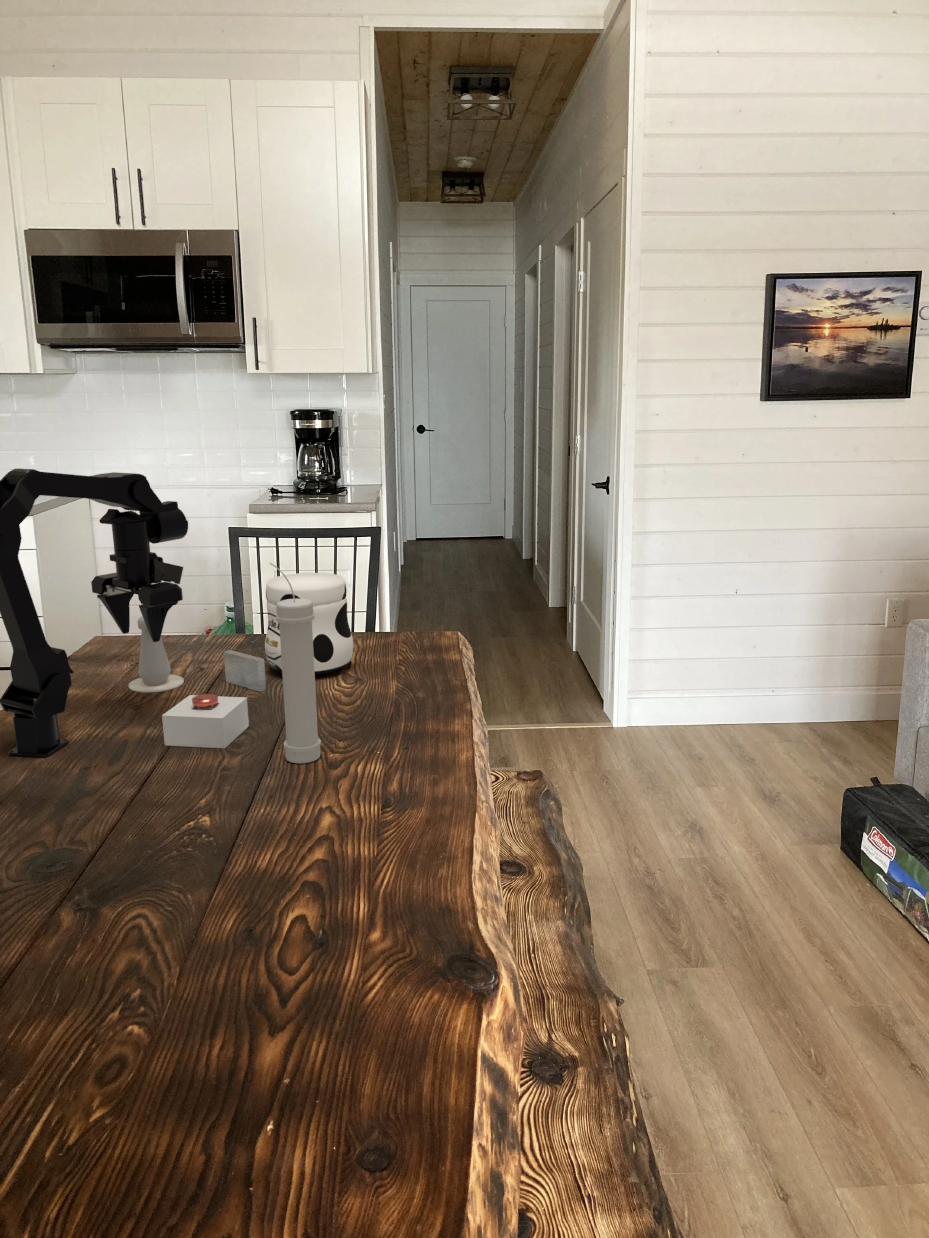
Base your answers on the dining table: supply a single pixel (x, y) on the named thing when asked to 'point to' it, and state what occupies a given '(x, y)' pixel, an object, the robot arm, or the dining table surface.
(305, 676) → the grey cylinder
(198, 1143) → the dining table surface
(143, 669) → the salt shaker
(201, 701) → the plunger
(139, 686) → the coaster
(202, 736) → the button block
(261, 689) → the flat rectangular plate
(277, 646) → the milk container
